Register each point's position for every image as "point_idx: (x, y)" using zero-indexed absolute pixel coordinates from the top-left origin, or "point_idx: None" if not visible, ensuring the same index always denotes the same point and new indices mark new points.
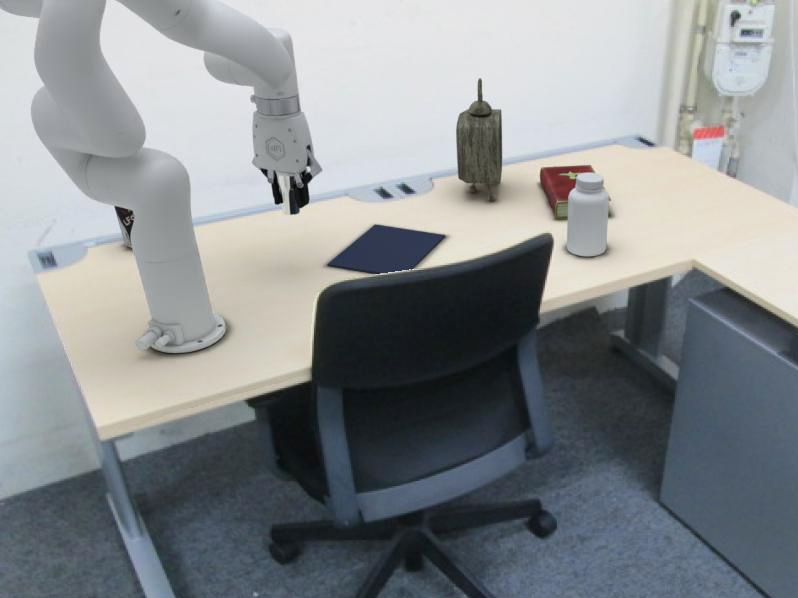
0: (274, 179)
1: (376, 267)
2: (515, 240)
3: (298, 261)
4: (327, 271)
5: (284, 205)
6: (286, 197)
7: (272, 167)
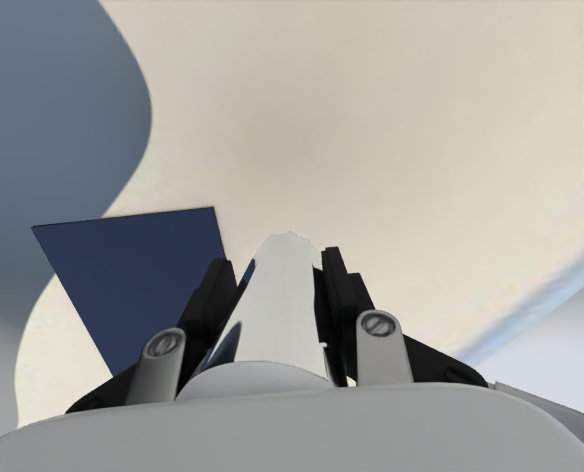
0: (356, 340)
1: (109, 238)
2: (18, 407)
3: (285, 198)
4: (194, 184)
5: (285, 247)
6: (266, 269)
7: (319, 413)
